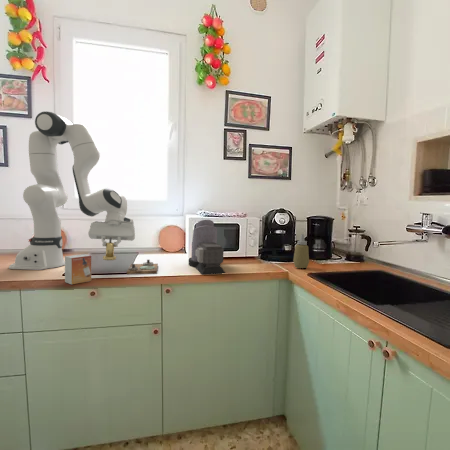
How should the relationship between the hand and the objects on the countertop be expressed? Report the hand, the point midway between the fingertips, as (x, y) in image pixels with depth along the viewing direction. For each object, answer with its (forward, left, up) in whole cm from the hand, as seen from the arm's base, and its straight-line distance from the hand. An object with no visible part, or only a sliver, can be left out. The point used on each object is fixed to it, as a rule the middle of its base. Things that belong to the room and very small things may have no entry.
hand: (109, 245), depth 128 cm
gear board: (+14, +4, -12) cm, 19 cm away
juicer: (+45, +7, -12) cm, 48 cm away
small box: (-9, -14, -12) cm, 21 cm away
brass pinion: (0, +1, -6) cm, 6 cm away
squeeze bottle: (+95, +2, -12) cm, 96 cm away
